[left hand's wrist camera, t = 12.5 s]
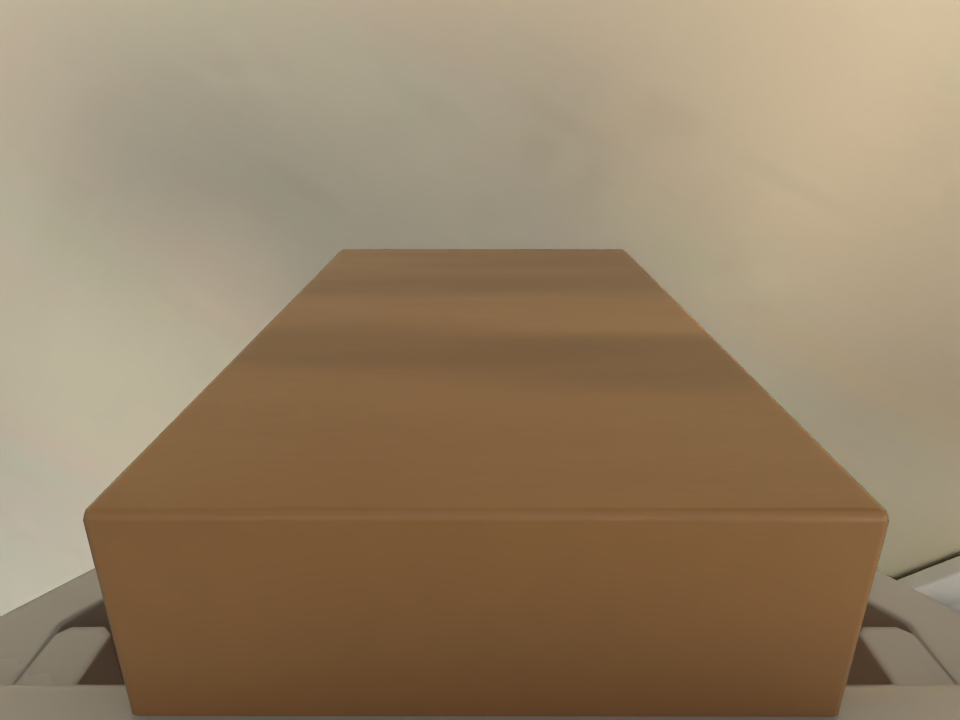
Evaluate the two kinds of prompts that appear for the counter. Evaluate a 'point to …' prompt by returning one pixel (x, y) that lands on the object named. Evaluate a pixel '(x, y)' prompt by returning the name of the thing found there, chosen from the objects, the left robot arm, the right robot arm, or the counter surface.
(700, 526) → the bar
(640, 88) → the counter surface
